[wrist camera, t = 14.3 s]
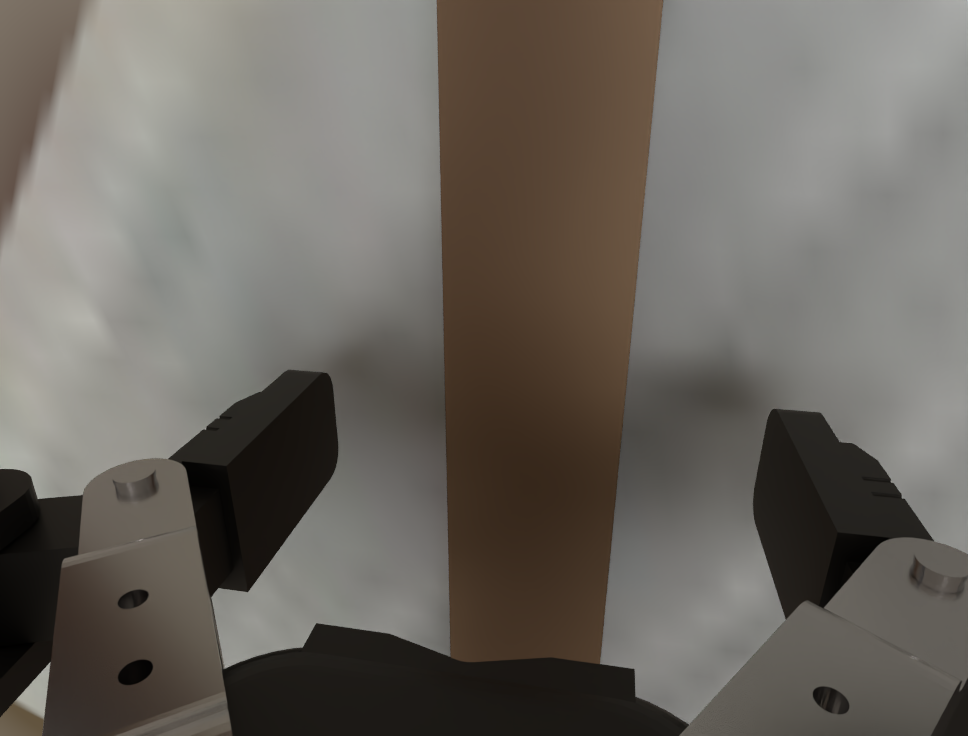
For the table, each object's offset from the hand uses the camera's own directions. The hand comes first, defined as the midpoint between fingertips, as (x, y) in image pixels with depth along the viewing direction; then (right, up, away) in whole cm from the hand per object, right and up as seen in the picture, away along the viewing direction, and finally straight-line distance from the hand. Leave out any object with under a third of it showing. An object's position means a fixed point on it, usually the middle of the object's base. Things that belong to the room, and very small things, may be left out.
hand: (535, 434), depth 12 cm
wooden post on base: (+1, 0, +4) cm, 4 cm away
